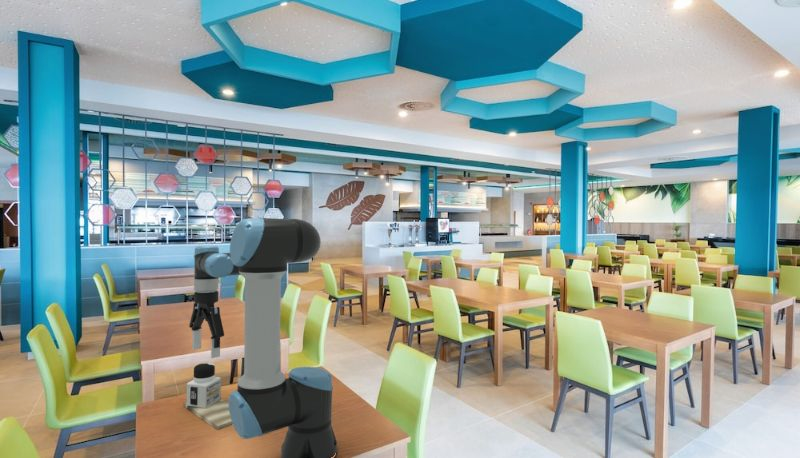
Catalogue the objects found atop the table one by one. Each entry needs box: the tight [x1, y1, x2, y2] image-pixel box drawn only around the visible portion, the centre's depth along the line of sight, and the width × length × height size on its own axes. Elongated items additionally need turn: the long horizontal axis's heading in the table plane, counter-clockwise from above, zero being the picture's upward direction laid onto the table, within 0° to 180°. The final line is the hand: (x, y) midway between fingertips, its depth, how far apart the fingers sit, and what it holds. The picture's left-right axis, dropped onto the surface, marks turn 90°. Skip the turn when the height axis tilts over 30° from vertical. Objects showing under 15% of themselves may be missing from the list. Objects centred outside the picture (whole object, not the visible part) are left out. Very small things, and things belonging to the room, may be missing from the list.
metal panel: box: [182, 398, 233, 431], centre depth 137 cm, size 24×10×1 cm, turn 50°
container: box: [186, 362, 222, 408], centre depth 141 cm, size 8×8×13 cm
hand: (205, 353), depth 141 cm, fingers open, 13 cm apart
